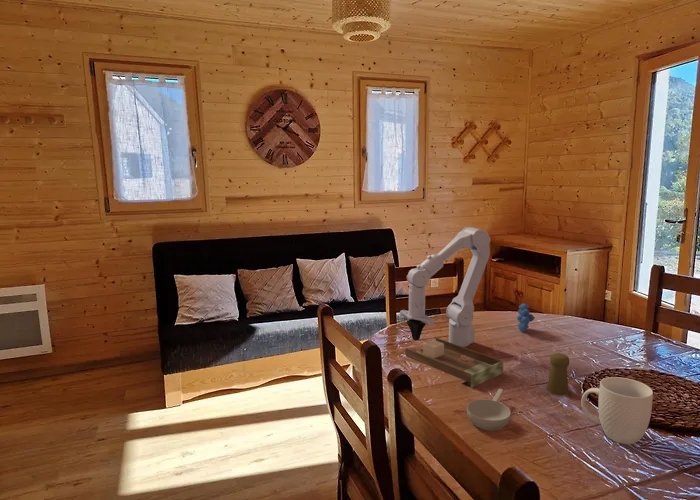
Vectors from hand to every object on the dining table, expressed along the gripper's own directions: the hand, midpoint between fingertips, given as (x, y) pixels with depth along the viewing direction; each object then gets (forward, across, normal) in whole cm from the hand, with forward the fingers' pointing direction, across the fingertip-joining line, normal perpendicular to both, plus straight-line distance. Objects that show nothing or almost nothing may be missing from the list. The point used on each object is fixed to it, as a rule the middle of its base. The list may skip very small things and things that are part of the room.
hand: (416, 339), depth 167 cm
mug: (+5, +68, -2) cm, 68 cm away
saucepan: (+5, +43, -17) cm, 46 cm away
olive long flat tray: (+4, +16, 0) cm, 17 cm away
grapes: (+4, +14, +48) cm, 50 cm away
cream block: (+3, +8, 0) cm, 9 cm away
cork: (+5, +47, +10) cm, 48 cm away
